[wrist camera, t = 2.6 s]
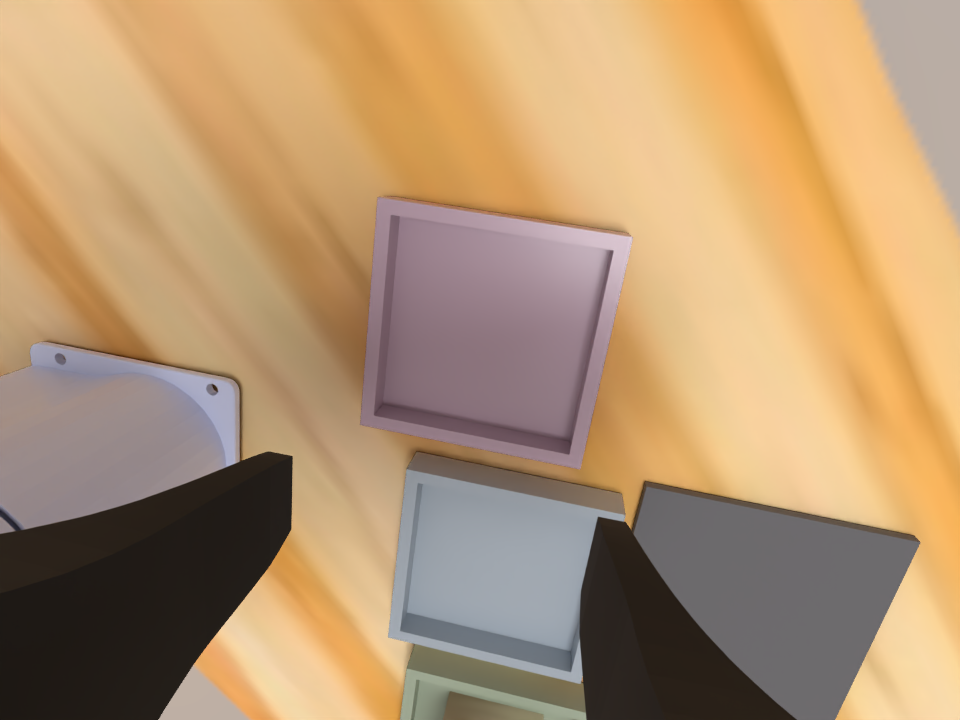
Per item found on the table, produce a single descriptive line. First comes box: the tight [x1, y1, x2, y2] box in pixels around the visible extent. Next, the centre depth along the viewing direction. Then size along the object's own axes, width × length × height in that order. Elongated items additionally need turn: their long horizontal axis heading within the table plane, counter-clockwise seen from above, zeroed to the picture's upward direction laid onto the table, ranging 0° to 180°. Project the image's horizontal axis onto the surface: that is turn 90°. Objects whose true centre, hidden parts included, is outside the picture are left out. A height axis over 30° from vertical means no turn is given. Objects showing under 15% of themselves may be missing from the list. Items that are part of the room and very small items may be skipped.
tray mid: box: [388, 452, 625, 684], centre depth 23 cm, size 8×8×2 cm
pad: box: [632, 481, 920, 720], centre depth 23 cm, size 10×10×1 cm
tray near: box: [360, 196, 633, 469], centre depth 20 cm, size 8×8×2 cm
